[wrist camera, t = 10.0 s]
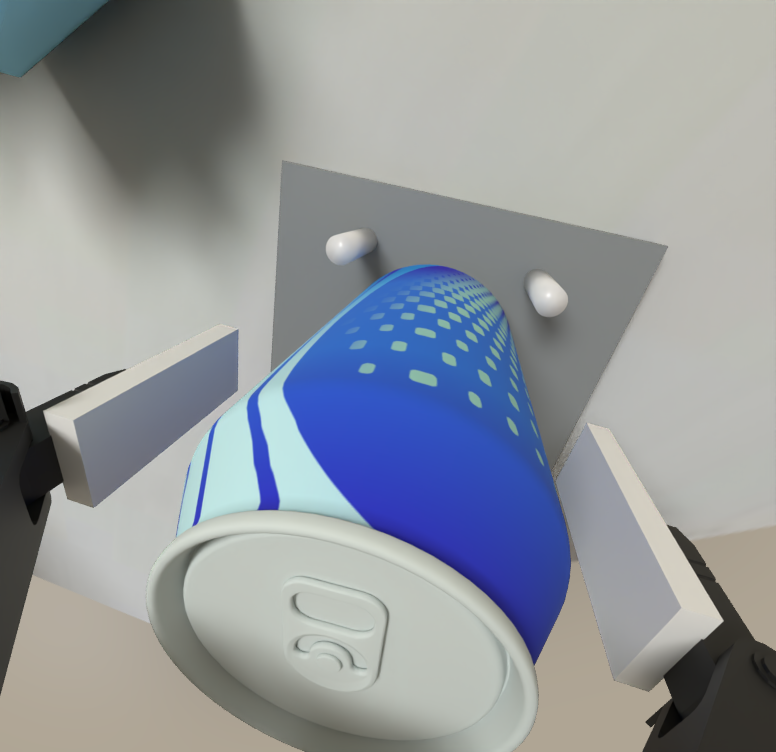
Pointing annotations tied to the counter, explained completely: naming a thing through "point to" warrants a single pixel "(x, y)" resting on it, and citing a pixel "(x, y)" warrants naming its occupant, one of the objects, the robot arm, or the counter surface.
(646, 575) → the robot arm
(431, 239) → the pegboard
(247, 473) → the beer can
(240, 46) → the counter surface
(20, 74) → the teakettle
